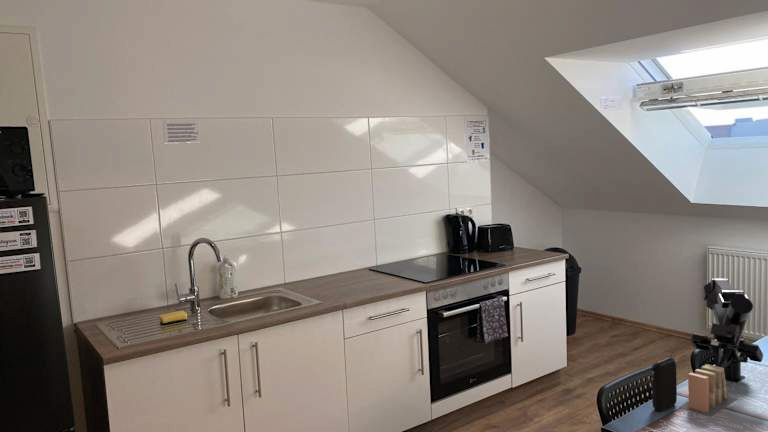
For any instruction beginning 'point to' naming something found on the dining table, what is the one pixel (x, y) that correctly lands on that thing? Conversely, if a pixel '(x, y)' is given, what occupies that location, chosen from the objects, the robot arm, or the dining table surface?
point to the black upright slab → (664, 384)
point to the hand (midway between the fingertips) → (717, 371)
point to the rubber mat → (711, 410)
